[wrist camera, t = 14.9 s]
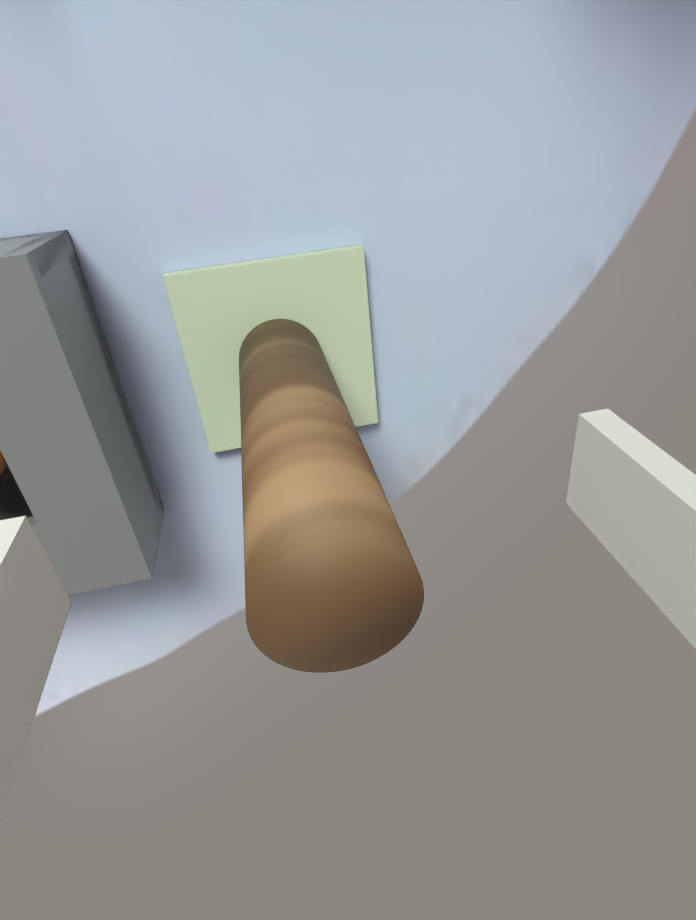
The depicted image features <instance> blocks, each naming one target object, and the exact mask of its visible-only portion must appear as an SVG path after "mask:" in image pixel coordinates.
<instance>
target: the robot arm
mask: <svg viewBox="0 0 696 920" xmlns="http://www.w3.org/2000/svg"><path fill="white" fill-rule="evenodd" d="M566 503H567V505H569V507H570V508H571V509H572V510H573V511H574V512H575V514H576V515H577V516H578V517H579V518H580V519H581V520H582V521H583V523H584V524H585V525H586V526H587V527H588V528H589V529H590V531H591V532H592V533H593V534H594V535H595V536H596V537H597V538H598V539H599V541H600V542H601V543H602V544H603V545H604V546H605V547H606V549H607V550H608V551H609V552H610V553H611V554H612V555H613V557H614V558H615V559H616V560H617V561H618V562H619V563H620V564H621V565H622V567H623V568H624V569H625V570H626V571H627V572H628V573H629V574H630V576H631V577H632V578H633V579H634V580H635V581H636V582H637V584H638V585H639V586H640V587H641V588H642V589H643V590H644V591H645V593H646V594H647V595H648V596H649V597H650V598H651V599H652V600H653V602H654V603H655V604H656V605H657V606H658V607H659V608H660V609H661V611H662V612H663V613H664V614H665V615H666V616H667V617H668V619H670V621H671V622H672V623H673V624H674V625H675V626H676V628H677V629H678V630H679V631H680V632H681V633H682V634H683V635H684V637H685V638H686V639H687V640H688V641H689V642H690V643H691V644H692V646H693V647H694V648H695V649H696V475H695V474H694V473H692V472H691V471H690V470H688V469H687V468H686V467H684V466H683V465H682V464H680V463H679V462H678V461H676V460H675V459H674V458H672V457H671V456H670V455H669V454H667V453H666V452H665V451H663V450H662V449H660V448H659V447H658V446H656V445H655V444H654V443H653V442H651V441H650V440H649V439H647V438H646V437H645V436H643V435H642V434H641V433H639V432H638V431H637V430H635V429H634V428H633V427H631V426H630V425H629V424H627V423H626V422H625V421H624V420H622V419H621V418H619V417H618V416H617V415H615V414H614V413H613V412H611V411H610V410H609V409H604V410H598V411H593V412H587V413H582V414H579V417H578V424H577V431H576V438H575V445H574V453H573V459H572V465H571V472H570V479H569V486H568V494H567V500H566ZM71 603H72V602H71V601H70V599H69V597H68V595H67V593H66V591H65V589H64V587H63V585H62V584H61V582H60V580H59V578H58V576H57V574H56V572H55V570H54V568H53V567H52V565H51V563H50V561H49V559H48V557H47V555H46V553H45V551H44V549H43V548H42V546H41V544H40V542H39V540H38V538H37V536H36V534H35V532H34V531H33V529H32V527H31V525H30V523H29V521H28V519H27V517H26V516H22V517H16V518H11V519H5V520H0V821H1V818H2V815H3V812H4V809H5V806H6V803H7V800H8V797H9V794H10V790H11V787H12V784H13V781H14V778H15V775H16V772H17V769H18V765H19V763H20V760H21V757H22V753H23V750H24V747H25V744H26V741H27V738H28V735H29V732H30V729H31V726H32V723H33V720H34V717H35V714H36V710H37V707H38V704H39V701H40V698H41V695H42V692H43V689H44V686H45V683H46V680H47V677H48V673H49V670H50V667H51V664H52V661H53V658H54V655H55V652H56V649H57V646H58V643H59V640H60V636H61V633H62V630H63V627H64V624H65V621H66V618H67V615H68V612H69V609H70V606H71Z"/></svg>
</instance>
